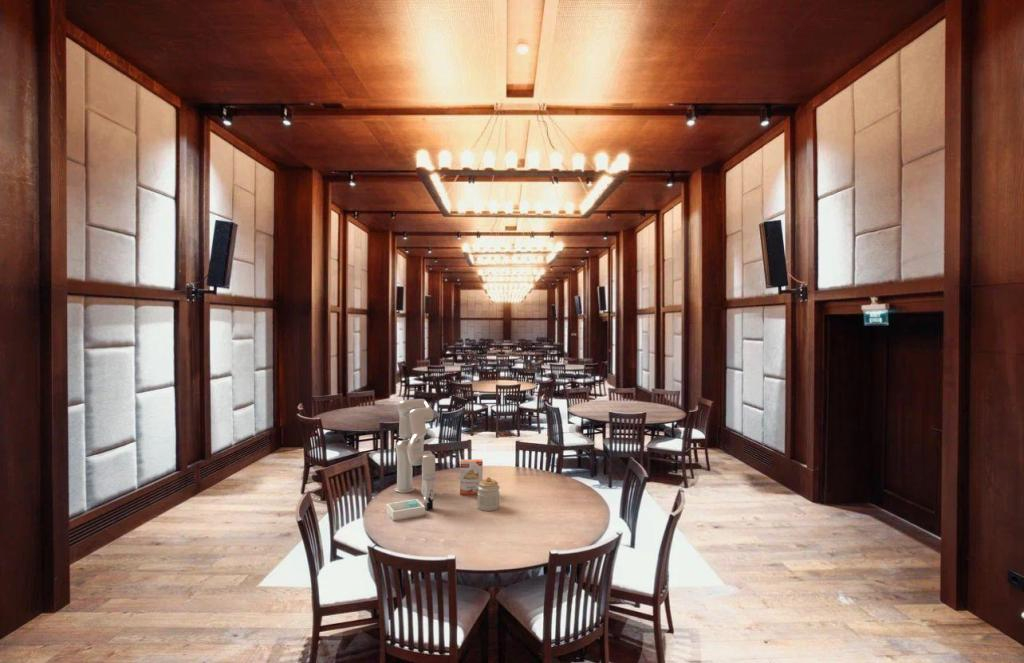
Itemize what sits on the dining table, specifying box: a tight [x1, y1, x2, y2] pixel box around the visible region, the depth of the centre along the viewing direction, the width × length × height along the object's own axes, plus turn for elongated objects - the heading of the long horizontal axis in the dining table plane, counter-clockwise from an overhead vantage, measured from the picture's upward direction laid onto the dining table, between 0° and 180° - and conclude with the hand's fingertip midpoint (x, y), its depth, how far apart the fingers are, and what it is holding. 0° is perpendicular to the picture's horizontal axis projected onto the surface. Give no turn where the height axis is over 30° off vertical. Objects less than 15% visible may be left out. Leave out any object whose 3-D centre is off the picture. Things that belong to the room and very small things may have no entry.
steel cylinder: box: [423, 496, 433, 512], centre depth 305 cm, size 5×5×7 cm
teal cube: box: [407, 499, 418, 509], centre depth 299 cm, size 5×5×5 cm
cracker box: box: [459, 458, 484, 496], centre depth 333 cm, size 14×6×21 cm, turn 96°
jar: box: [476, 476, 501, 512], centre depth 309 cm, size 13×13×18 cm
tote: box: [385, 498, 426, 522], centre depth 297 cm, size 14×18×5 cm
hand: (428, 507), depth 305 cm, fingers closed on steel cylinder, 4 cm apart
